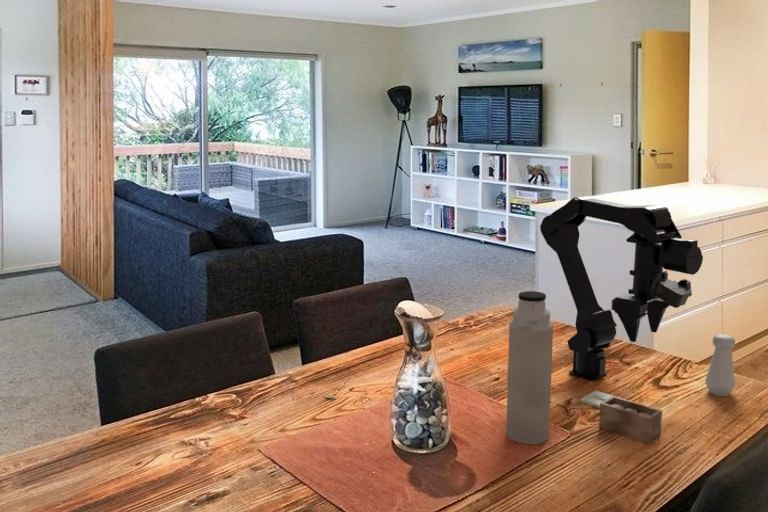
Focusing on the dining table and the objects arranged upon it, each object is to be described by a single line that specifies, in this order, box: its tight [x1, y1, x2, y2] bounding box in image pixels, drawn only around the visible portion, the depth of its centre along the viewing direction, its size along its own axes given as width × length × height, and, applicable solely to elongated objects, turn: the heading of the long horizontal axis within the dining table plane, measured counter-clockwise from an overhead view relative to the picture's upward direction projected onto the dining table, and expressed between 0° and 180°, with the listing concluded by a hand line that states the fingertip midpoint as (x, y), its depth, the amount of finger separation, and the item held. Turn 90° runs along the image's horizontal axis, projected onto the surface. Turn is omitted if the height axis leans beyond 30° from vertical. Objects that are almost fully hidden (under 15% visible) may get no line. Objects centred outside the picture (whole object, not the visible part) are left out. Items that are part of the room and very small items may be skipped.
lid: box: [579, 390, 650, 409], centre depth 145 cm, size 12×6×2 cm, turn 44°
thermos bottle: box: [506, 290, 554, 445], centre depth 130 cm, size 8×8×28 cm
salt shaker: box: [705, 333, 736, 397], centre depth 150 cm, size 6×6×13 cm
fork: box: [321, 395, 336, 400], centre depth 155 cm, size 3×16×2 cm, turn 166°
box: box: [598, 395, 663, 445], centre depth 133 cm, size 10×5×5 cm, turn 44°
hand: (643, 336), depth 149 cm, fingers open, 9 cm apart
